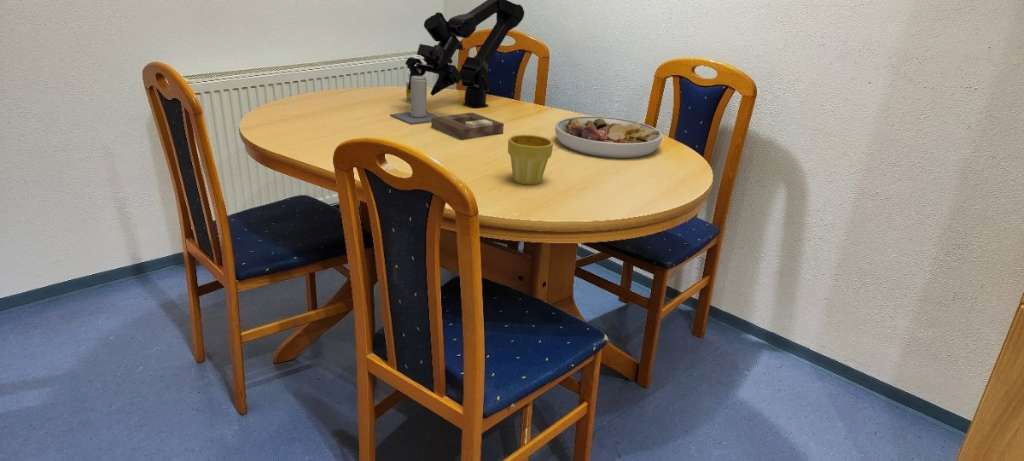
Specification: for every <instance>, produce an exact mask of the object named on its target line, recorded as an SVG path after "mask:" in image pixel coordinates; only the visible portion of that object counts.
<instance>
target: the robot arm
mask: <svg viewBox="0 0 1024 461" xmlns="http://www.w3.org/2000/svg"><path fill="white" fill-rule="evenodd" d="M494 14H495V15H496V16H495V17H496V18H495V19H496V22H495V25H494V26H493V28H492V29H491V31H490V32H489V34H488V35H487V37H486V39H485V40H484V42H483V43H482V45H481V47H480V48H479V50H478V51H477V53H476V55H475V56H473V57H472V56H466V58H465V60H464V62H463V63H462V64H461V65H460V66H461V68H460V70H458V68H457V66H456V65H454V64H453V62H454V61H453V59H452V58H453V56H454V55H455V53H456V51H457V50H460V51H463V50H464V45H463V41H462V40H460V39H458V38H462V39H468V38H470V37H471V36H472V35H473V33H474V32H475V31H476V29H477V26H479V25H480V24H481V23H483V22H484V21H486V20H487V19H490V17H492V16H493V15H494ZM524 17H525V10H524V7H523V5H521V4H517V3H514V2H512V1H509V0H485V1H484V2H482V3H480V4H479V5H477V6H476V7H475V8H473V9H471V10H470V11H469V12H467V13H462V14H457V15H456V16H453V17H450V18H449V19H448V21H447V20H446V18H445V16H444V14H443V13H442V12H439V11H438V12H437V11H436V13H435V14H433V15H431V16H429V17H428V18H426V20H425V21H424V23H423V27H424V29H425V30H426V32H427V33H428V35H429V36H430V37H431V38H432V39H433V41H434V42H437V44H434V45H433V46H432V45H428V44H423V43H420V44H419V45H418V49H417V52H416V55H417V56H421V57H422V58H423V61H424V62H425V63H426V64H425V63H423V61H421V60H422V59H420V58H416V57H413V56H412V57H407V60H406V61H405V63H404V64H405V66H407V69H409V72H410V79H409V78H408V79H409V85H408V89H409V90H411V77H412V76H424V75H425V74H426V73H427V72H429V73H432V74H437V75H438V77H437V80H436V82H435V83H434V86H433V87H432V89H431V91H430V95H431V96H435V95H436V94H438V93H440V92H441V91H443V90H444V89H447V88H448V87H451V86H452V85H453V86H454V85H455V84H458V85H459V84H460V81H461V85H462V86H463V87H465V92H464V102H462V105H464V106H466V107H469V108H472V109H477V108H485V107H487V108H488V107H489V104H487V91H488V90H490V89H491V87H492V81H491V79H490V78H489V77H488V74H489V64H490V62H491V60H492V59H493V57H494V55H495V54H496V52H497V51H498V49H499V48H500V46H501V45H502V43H503V41H504V40H505V37H506V36H507V35H508V34H509V32H510V31H511V30H514V28H516V27H518V26H519V25H520V23H521V22H522V21H523V19H524Z"/></svg>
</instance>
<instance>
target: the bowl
mask: <svg viewBox="0 0 1024 461" xmlns="http://www.w3.org/2000/svg"><path fill="white" fill-rule="evenodd" d="M554 127H555V128H554V129H555V130H554V131H555V136H556V138H557V140H558V142H560V143H561V144H562V145H563V146H564V147H566V148H568V149H570V150H572V151H575V152H578V153H580V154H585V155H589V156H593V157H594V156H595V157H599V158H600V157H602V158H610V159H631V158H639V157H644V156H646V155H649V154H652V153H654V152H655V151H656V150H657V149H658V148H659V147H660V145H661V143H662V140H663V133H662V132H661V130H659V129H657V128H655V127H653V126H652V125H648V124H647V123H642V122H639V121H636V120H629V119H625V118H624V119H623V118H619V117H618V118H617V117H610V116H594V115H593V116H574V117H568V118H564V119H560V120H559V121H557V122H556V123H555V126H554Z"/></svg>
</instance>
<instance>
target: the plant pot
mask: <svg viewBox="0 0 1024 461" xmlns="http://www.w3.org/2000/svg"><path fill="white" fill-rule="evenodd" d="M553 146H554V142H553V141H552V140H551V139H550V138H548V137H546V136H541V135H536V134H527V133H526V134H513V135H512V136H509V138H508V143H507V153H508V154H509V155H510V163H511V170H512V171H511V172H512V173H511V174H512V179H513V181H514V182H516V183H517V184H522V185H530V186H533V185H538V184H540V183H541V182H542V180H543V177H544V173H545V170H546V166H547V163H548V161H549V159H550V158H551V157H552V155H553Z"/></svg>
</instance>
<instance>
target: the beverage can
mask: <svg viewBox="0 0 1024 461" xmlns="http://www.w3.org/2000/svg"><path fill="white" fill-rule="evenodd" d="M427 88H428V80H427V76H424V75H422V76H412V77H411V103H410V112H411V116H412V117H414V118H424V117H425V116H426V112H427V102H428V101H427V96H428V95H427V92H428V91H427V90H428V89H427Z"/></svg>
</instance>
